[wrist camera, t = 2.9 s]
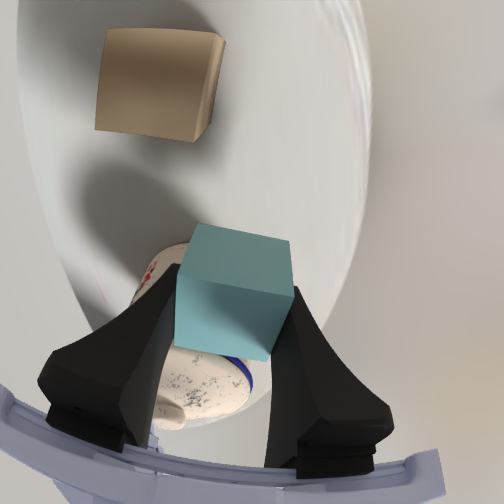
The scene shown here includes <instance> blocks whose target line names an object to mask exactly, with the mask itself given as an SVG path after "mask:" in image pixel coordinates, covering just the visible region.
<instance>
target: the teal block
mask: <svg viewBox="0 0 504 504" xmlns="http://www.w3.org/2000/svg"><path fill="white" fill-rule="evenodd" d="M294 297H295V296H294V285H293V274H292V264H291V254H290V245H289V241H286V240H281V239H276V238H271V237H266V236H262V235H257V234H252V233H247V232H242V231H237V230H232V229H227V228H222V227H216V226H211V225H206V224H201V223H197V225H196V228H195V230H194V233H193V235H192V238H191V240H190V243H189V245H188V248H187V250H186V253H185V255H184V258H183V261H182V263H181V266H180V269H179V271H178V274H177V286H176V306H175V335H174V345H175V346H179V347H184V348H189V349H194V350H199V351H204V352H209V353H214V354H220V355H225V356H231V357H237V358H243V359H250V360H256V361H263V362H267V360H268V358H269V355H270V353H271V351H272V349H273V346H274V344H275V342H276V340H277V337H278V335H279V333H280V330H281V328H282V326H283V323H284V321H285V319H286V316H287V314H288V312H289V309H290V307H291V305H292V302H293V300H294Z"/></svg>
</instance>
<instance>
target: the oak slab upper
mask: <svg viewBox="0 0 504 504" xmlns="http://www.w3.org/2000/svg"><path fill="white" fill-rule="evenodd" d="M223 41H224V39H223V38H222V37H221V36H219V35H218V34H216V33H210V32H201V31H191V30H179V29H161V28H115V29H107V33H106V38H105V43H104V49H103V55H102V62H101V69H100V76H99V85H98V94H97V105H96V118H95V130H101V131H111V132H120V133H129V134H137V135H145V136H152V137H159V138H166V139H172V140H179V141H185V142H191V143H194V142H195V141H196V140H197V139H198V138H199V136H200V135H201V134H202V133H203V132H204V130H205V125H206V120H207V114H208V109H209V104H210V99H211V95H212V90H213V85H214V80H215V76H216V71H217V67H218V62H219V58H220V54H221V50H222V45H223Z"/></svg>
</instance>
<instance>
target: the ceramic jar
mask: <svg viewBox="0 0 504 504" xmlns="http://www.w3.org/2000/svg"><path fill="white" fill-rule="evenodd" d="M188 245H189V243H183V244H178V245H174V246H171V247H168V248H166V249H164V250H163V251H161V252H160V253H158V254H157V255H156V256H155V257H154V258H153V260H152V261H151V262H150V264H149V266H148V268H147V270H146V272H145V274H144V276H143V278H142V280H141V282H140V284H139V286H138V288H137V290H136V293H135V295H134V297H133V299H132V301H131V303H130V305H129V307H130V306H131V305H132V304H133V303H134V302H135V301H136V300H137V299H139V298H140V297H141V296H142V295H143V294H144V293H145V292H146V291H147V290H148V289H149V288H150V287H151V286H152V285H153V284H154V283H155V282H156V281H157V280H158V279H159V278H160V277H161V275H162V274H163V273H164V272H165V271H166V270H167V268H168V267H169V266H170V265H171V264H172V263H177V264H181V263H182V261H183V258H184V255H185V253H186V250H187V248H188ZM252 387H253V380H252V376H251V373H250V359H243V358H237V357H231V356H225V355H220V354H214V353H209V352H204V351H199V350H194V349H189V348H184V347H179V346H175V345H174V338H173V340H172V343H171V346H170V349H169V351H168V354H167V357H166V360H165V363H164V366H163V370H162V374H161V378H160V382H159V387H158V392H157V396H156V401H155V406H154V412H153V417H152V422H153V423H154V424H156V425H157V426H159V427H162V428H165V429H169V430H179V429H181V428H182V427H184V425H185V422H186V419H196V418H205V417H216V416H221V415H225V414H228V413H231V412H233V411H235V410H237V409H238V408H240V407H241V406H242V405H243V404H244V403H245V402H246V400H247V399H248V397H249V395H250V393H251V391H252Z"/></svg>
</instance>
